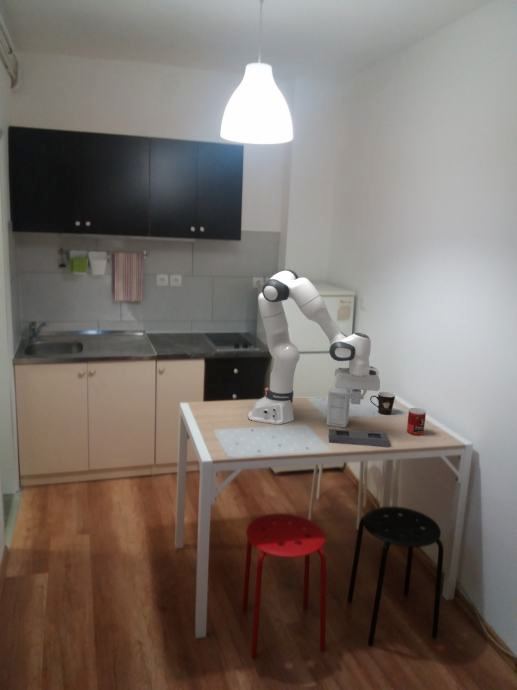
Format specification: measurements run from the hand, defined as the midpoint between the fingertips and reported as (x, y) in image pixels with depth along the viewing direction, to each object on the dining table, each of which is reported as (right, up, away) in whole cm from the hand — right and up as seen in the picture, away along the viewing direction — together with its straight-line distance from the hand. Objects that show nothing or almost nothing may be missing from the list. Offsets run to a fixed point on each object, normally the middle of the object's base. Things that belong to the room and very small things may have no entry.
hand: (355, 398), depth 261 cm
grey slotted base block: (0, -19, -5) cm, 19 cm away
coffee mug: (+19, -11, +35) cm, 42 cm away
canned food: (+29, -17, +9) cm, 35 cm away
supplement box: (-6, -14, +16) cm, 22 cm away
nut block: (0, -2, +1) cm, 2 cm away
